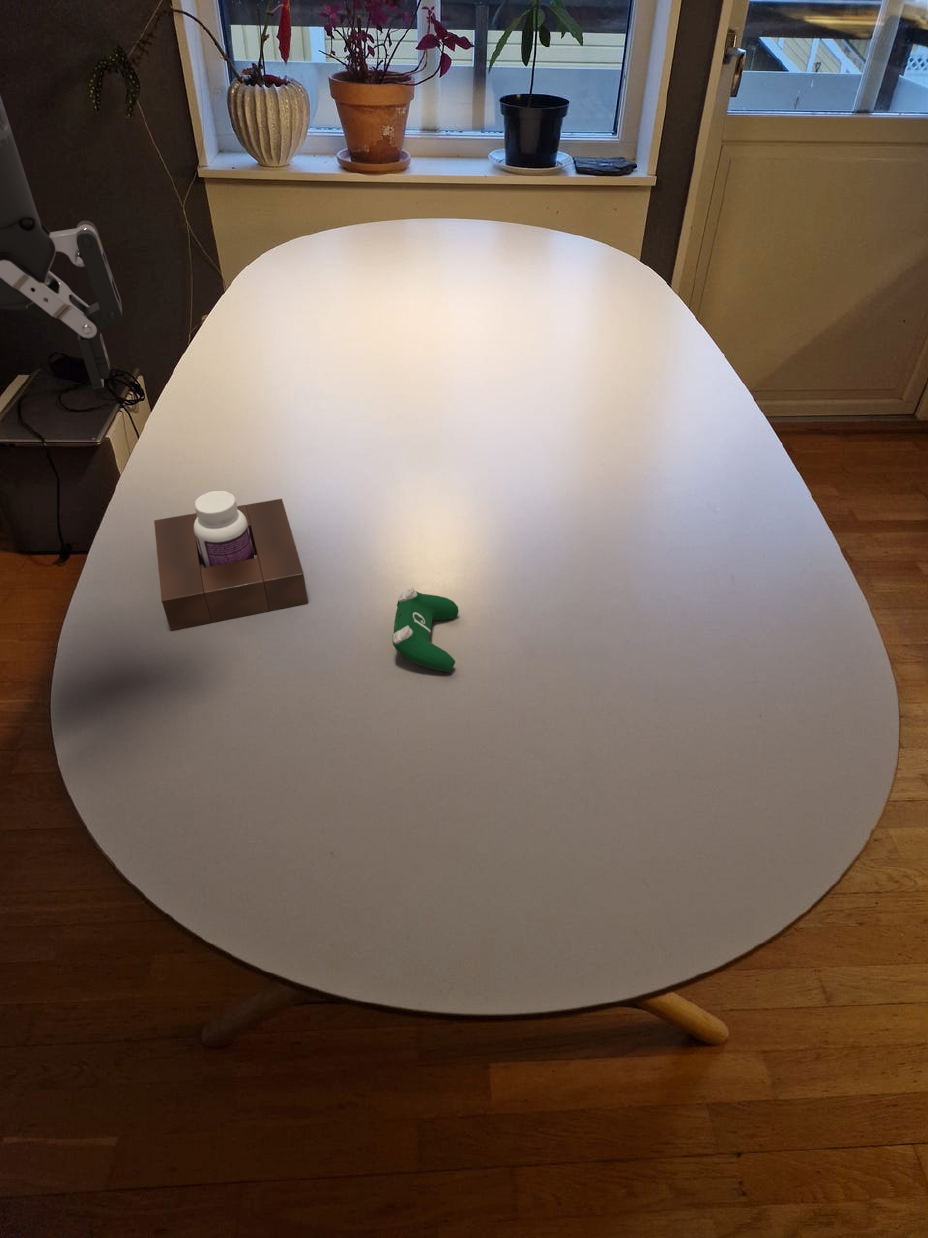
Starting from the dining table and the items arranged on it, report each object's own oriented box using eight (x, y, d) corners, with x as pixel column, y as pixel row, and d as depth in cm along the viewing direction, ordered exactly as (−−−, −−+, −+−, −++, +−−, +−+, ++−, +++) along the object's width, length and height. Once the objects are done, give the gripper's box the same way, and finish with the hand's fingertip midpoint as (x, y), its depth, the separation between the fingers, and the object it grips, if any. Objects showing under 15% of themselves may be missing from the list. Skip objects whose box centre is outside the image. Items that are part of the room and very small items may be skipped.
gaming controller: (436, 622, 89) (393, 591, 87) (462, 604, 88) (418, 571, 85) (430, 688, 83) (383, 656, 80) (458, 669, 81) (411, 635, 78)
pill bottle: (268, 570, 93) (253, 496, 86) (234, 598, 89) (217, 523, 83) (230, 554, 95) (213, 480, 88) (196, 581, 91) (175, 506, 85)
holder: (170, 631, 86) (161, 600, 83) (162, 549, 95) (153, 520, 93) (308, 603, 89) (303, 573, 86) (286, 527, 99) (281, 498, 96)
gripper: (72, 106, 53) (138, 355, 64) (-189, 123, 50) (-72, 382, 61) (70, 138, 48) (142, 403, 59) (-221, 158, 44) (-87, 435, 55)
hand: (33, 392), depth 60 cm, fingers open, 8 cm apart
